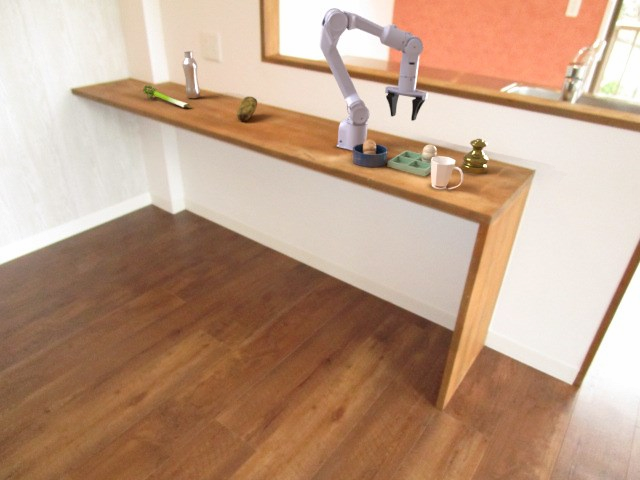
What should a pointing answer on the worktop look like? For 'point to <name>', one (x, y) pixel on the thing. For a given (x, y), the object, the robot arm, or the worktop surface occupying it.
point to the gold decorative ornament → (475, 158)
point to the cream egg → (428, 153)
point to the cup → (443, 171)
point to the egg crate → (410, 163)
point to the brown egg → (369, 147)
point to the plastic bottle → (191, 75)
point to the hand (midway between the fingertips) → (403, 117)
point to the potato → (246, 108)
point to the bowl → (370, 156)
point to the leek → (163, 96)
